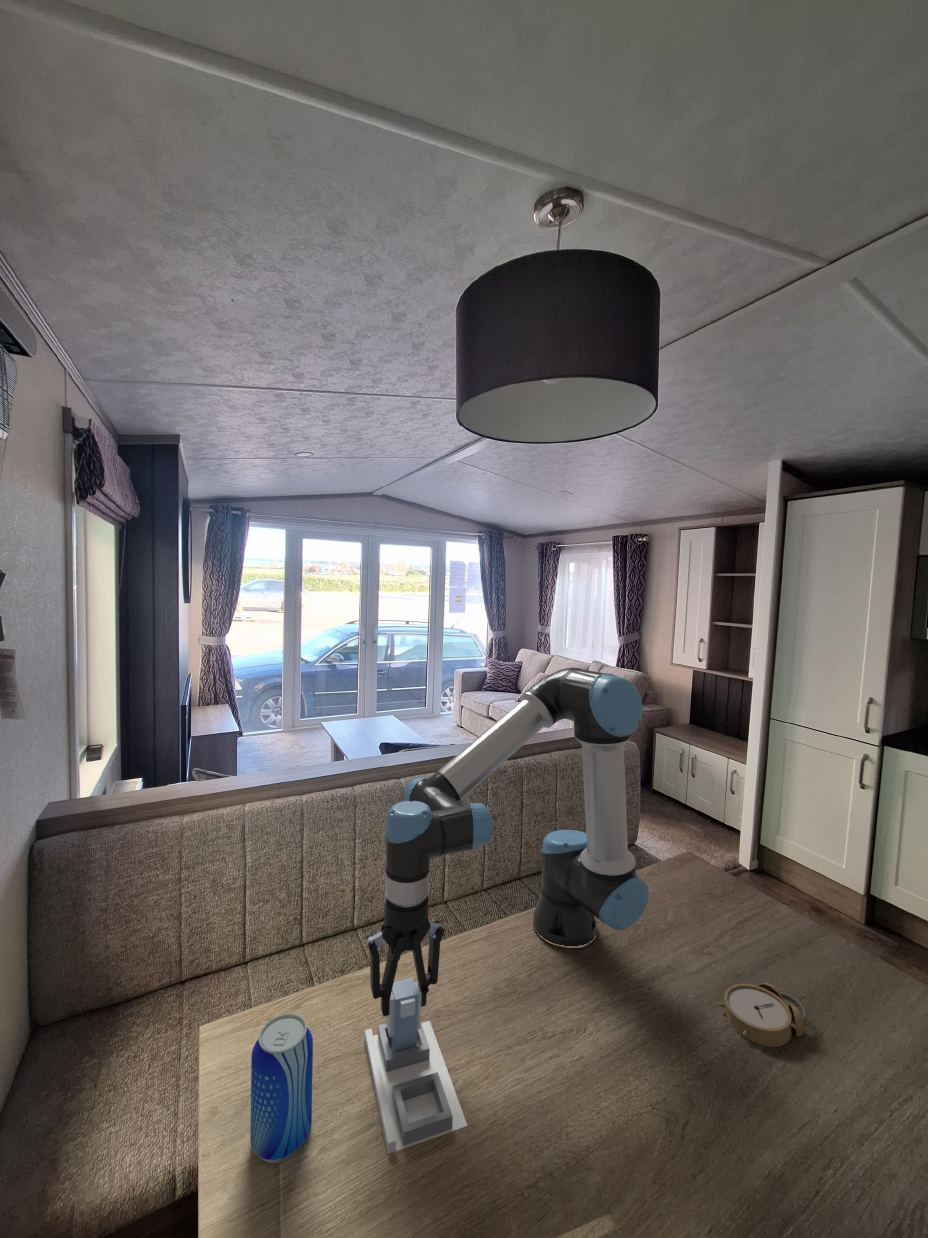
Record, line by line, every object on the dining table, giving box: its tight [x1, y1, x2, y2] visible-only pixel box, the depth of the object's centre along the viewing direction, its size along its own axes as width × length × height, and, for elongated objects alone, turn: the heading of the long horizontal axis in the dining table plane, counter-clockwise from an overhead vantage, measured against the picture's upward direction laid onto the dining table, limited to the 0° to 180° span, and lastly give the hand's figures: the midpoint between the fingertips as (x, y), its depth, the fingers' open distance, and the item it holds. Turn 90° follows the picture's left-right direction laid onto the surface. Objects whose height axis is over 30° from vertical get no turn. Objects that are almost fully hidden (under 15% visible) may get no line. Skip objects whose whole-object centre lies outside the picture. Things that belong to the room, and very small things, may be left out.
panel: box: [364, 1020, 468, 1155], centre depth 84 cm, size 12×20×3 cm, turn 20°
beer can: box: [249, 1013, 314, 1164], centre depth 75 cm, size 8×8×16 cm
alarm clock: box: [717, 982, 809, 1048], centre depth 98 cm, size 11×5×15 cm
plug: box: [389, 977, 419, 1053], centre depth 89 cm, size 4×5×10 cm
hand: (403, 1026), depth 89 cm, fingers closed on plug, 4 cm apart
